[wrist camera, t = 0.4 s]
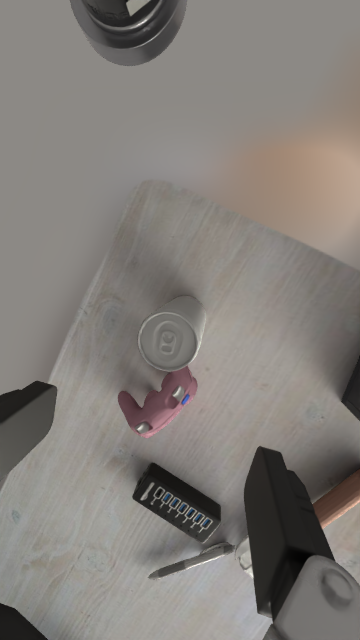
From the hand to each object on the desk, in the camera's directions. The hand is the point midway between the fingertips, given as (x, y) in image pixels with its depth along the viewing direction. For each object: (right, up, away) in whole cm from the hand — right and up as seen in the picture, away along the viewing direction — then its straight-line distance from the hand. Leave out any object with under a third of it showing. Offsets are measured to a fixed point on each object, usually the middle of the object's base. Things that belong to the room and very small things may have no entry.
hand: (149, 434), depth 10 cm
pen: (+3, -29, +27) cm, 40 cm away
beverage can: (+2, +5, +21) cm, 22 cm away
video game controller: (-1, -4, +23) cm, 23 cm away
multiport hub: (+1, -19, +26) cm, 32 cm away
